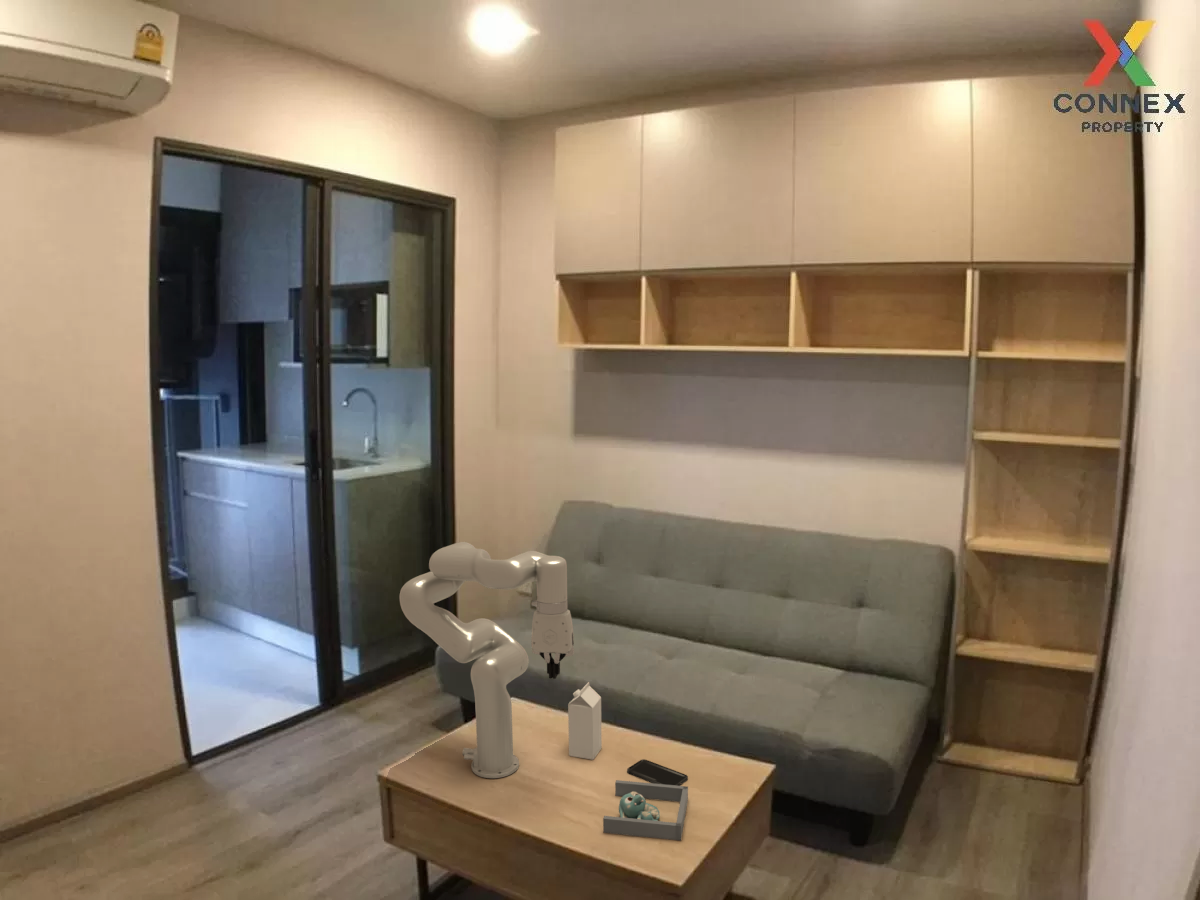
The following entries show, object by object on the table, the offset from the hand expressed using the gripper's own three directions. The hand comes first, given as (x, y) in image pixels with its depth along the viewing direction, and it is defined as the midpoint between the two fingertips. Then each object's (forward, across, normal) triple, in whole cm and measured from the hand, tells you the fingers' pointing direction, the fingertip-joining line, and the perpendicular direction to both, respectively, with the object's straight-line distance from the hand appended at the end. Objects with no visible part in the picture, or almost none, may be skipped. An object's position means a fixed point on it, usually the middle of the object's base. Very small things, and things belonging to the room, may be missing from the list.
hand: (553, 676), depth 217 cm
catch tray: (+29, +25, -10) cm, 40 cm away
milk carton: (+29, +4, +18) cm, 35 cm away
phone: (+30, +25, +9) cm, 40 cm away
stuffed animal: (+30, +24, -13) cm, 40 cm away
